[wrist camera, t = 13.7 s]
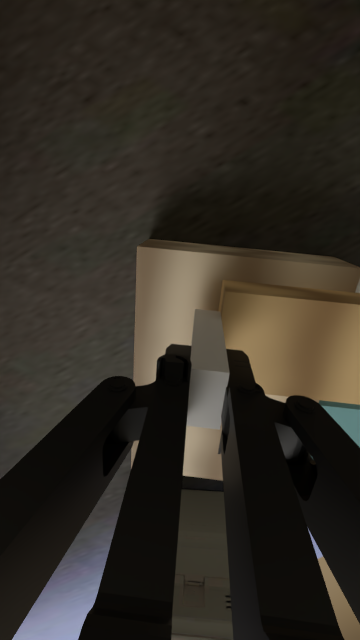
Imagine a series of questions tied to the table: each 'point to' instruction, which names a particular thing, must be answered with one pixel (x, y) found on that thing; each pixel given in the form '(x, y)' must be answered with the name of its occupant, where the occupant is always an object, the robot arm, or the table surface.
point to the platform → (204, 293)
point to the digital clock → (202, 570)
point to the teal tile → (345, 417)
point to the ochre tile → (296, 338)
